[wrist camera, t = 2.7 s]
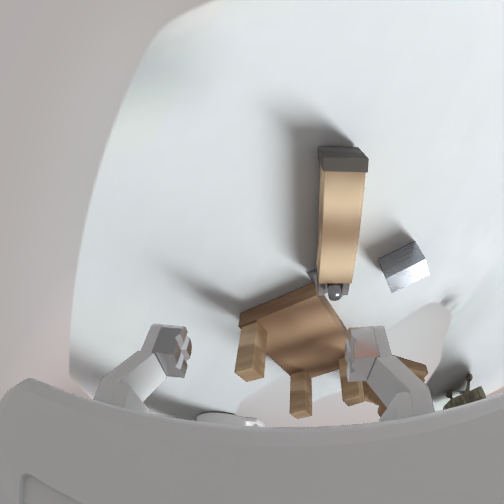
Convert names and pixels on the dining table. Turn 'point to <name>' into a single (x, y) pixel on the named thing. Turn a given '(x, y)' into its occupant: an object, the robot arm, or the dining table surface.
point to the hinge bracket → (328, 287)
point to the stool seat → (296, 345)
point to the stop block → (404, 266)
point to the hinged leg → (339, 214)
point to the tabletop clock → (465, 395)
